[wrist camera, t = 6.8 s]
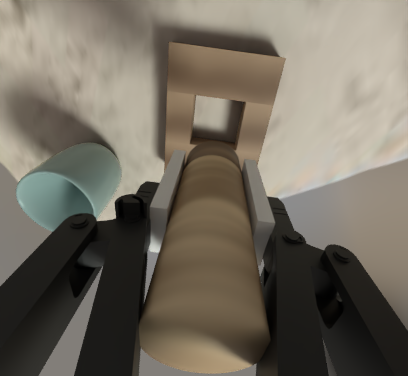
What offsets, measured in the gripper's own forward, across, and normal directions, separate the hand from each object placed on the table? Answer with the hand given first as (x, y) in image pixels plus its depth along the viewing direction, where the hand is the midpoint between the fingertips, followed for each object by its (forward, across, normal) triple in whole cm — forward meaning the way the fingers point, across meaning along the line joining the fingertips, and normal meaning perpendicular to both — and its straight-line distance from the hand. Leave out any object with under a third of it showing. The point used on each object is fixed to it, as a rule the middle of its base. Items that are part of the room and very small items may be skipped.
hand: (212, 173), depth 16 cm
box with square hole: (+13, 0, 0) cm, 13 cm away
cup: (+14, -15, -8) cm, 21 cm away
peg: (+1, 0, 0) cm, 1 cm away
